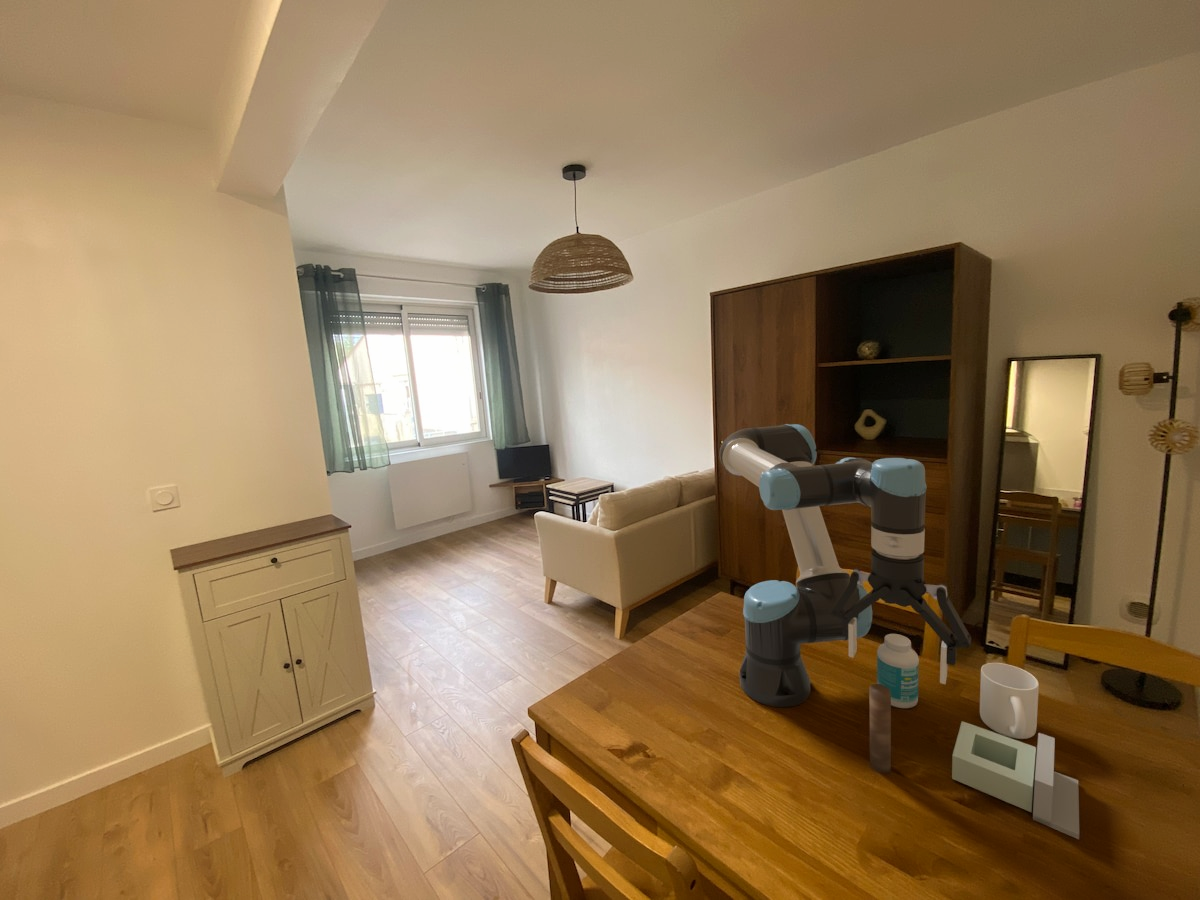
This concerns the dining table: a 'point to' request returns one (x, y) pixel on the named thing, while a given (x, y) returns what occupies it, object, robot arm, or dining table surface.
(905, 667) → the pill bottle
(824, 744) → the dining table surface
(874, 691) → the dowel
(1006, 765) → the block
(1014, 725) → the mug
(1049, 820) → the grey l-shaped piece
